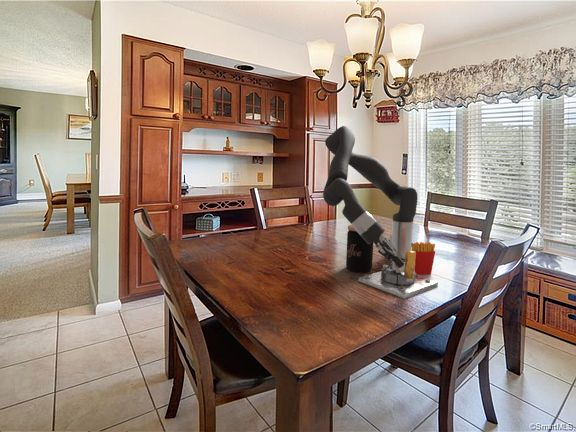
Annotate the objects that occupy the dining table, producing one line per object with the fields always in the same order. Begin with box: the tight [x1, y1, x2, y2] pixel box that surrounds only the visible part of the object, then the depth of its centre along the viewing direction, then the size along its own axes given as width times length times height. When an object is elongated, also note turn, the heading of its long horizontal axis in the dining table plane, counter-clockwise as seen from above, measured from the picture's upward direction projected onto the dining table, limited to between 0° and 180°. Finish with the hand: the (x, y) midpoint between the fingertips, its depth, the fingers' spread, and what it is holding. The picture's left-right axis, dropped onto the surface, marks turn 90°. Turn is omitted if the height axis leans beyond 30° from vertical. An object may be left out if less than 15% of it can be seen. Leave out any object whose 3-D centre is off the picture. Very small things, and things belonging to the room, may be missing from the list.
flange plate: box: [358, 260, 439, 299], centre depth 127 cm, size 20×20×8 cm
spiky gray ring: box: [381, 249, 417, 284], centre depth 123 cm, size 17×11×13 cm, turn 2°
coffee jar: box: [345, 224, 374, 274], centre depth 143 cm, size 11×11×18 cm
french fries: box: [411, 241, 436, 276], centre depth 139 cm, size 9×4×13 cm, turn 86°
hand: (402, 266), depth 117 cm, fingers closed
